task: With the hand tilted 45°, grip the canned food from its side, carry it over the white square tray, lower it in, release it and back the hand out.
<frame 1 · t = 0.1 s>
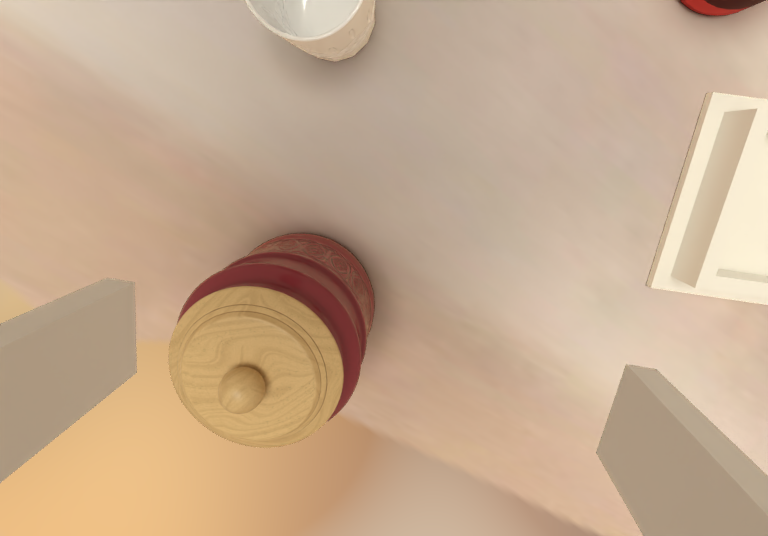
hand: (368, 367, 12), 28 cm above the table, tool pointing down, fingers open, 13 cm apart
white cup: (333, 16, 35), on the table
canister: (308, 297, 41), on the table
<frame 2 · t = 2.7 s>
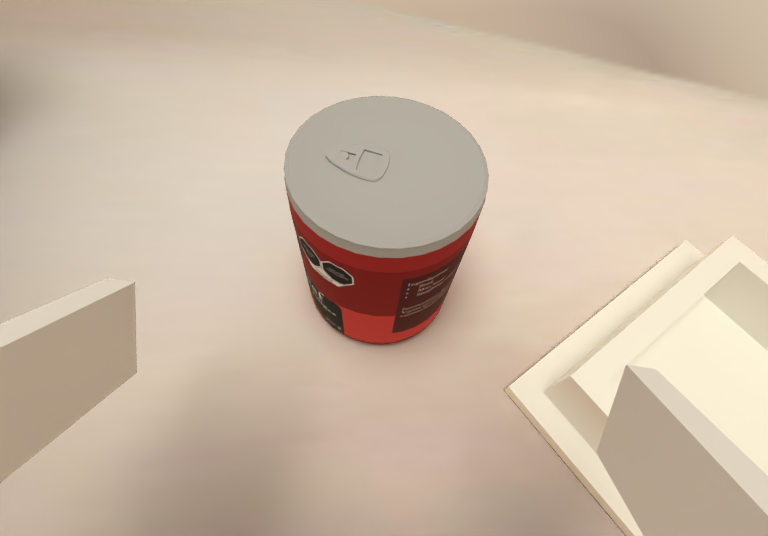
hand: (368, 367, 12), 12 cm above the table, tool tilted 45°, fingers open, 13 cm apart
canned food: (377, 288, 27), on the table
white square tray: (713, 424, 23), on the table
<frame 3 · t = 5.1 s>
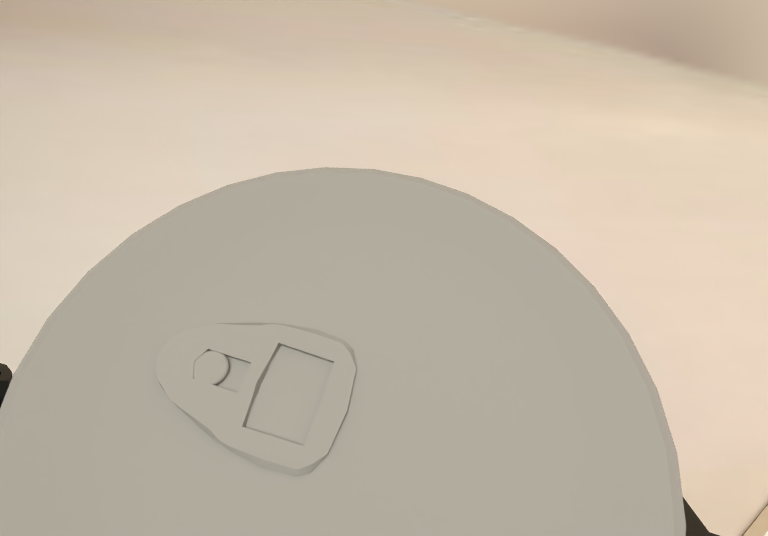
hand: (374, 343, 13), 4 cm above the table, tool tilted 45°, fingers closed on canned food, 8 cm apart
canned food: (354, 473, 15), on the table, touching gripper
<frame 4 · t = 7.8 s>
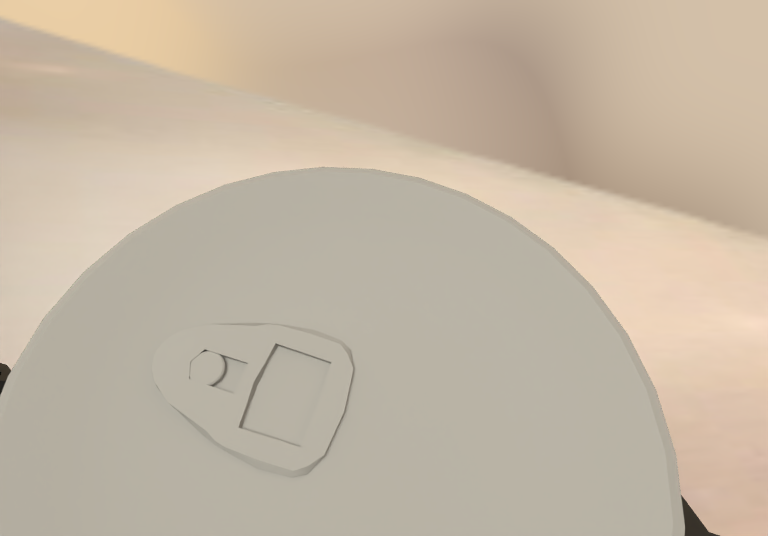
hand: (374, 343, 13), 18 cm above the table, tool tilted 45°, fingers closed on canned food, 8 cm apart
canned food: (353, 474, 15), point 14 cm above the table, touching gripper
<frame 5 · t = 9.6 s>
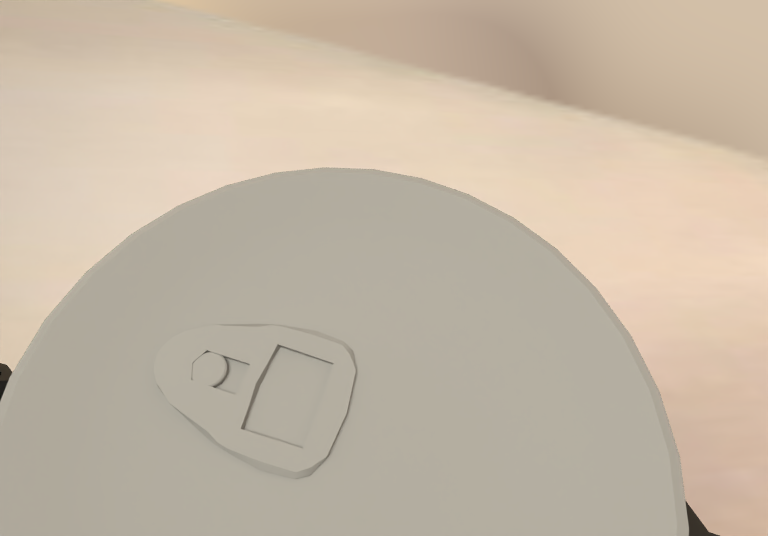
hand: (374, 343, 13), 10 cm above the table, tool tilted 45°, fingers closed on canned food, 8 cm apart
canned food: (354, 474, 15), point 6 cm above the table, touching gripper
when the fingers open (7 cm above the table, at t = 10.7 s): canned food drops 3 cm, resting on white square tray.
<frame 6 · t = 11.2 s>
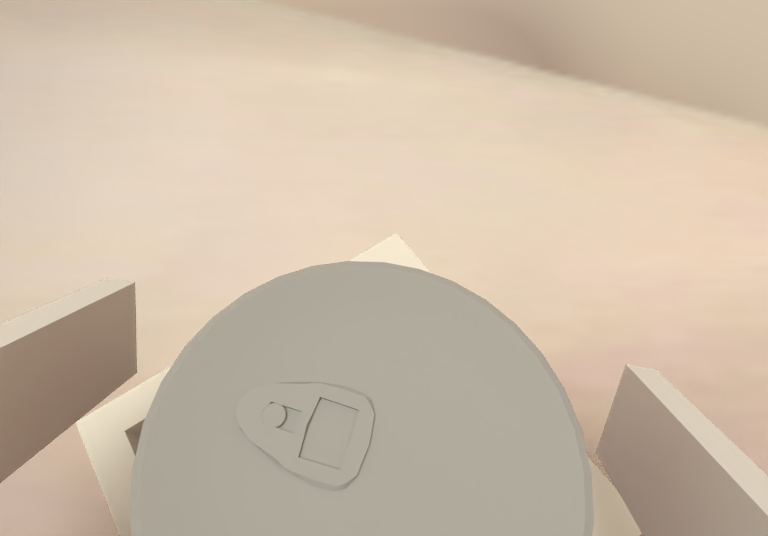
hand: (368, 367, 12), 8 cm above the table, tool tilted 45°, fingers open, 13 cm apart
canned food: (362, 483, 17), point 1 cm above the table, touching white square tray
white square tray: (355, 479, 18), on the table
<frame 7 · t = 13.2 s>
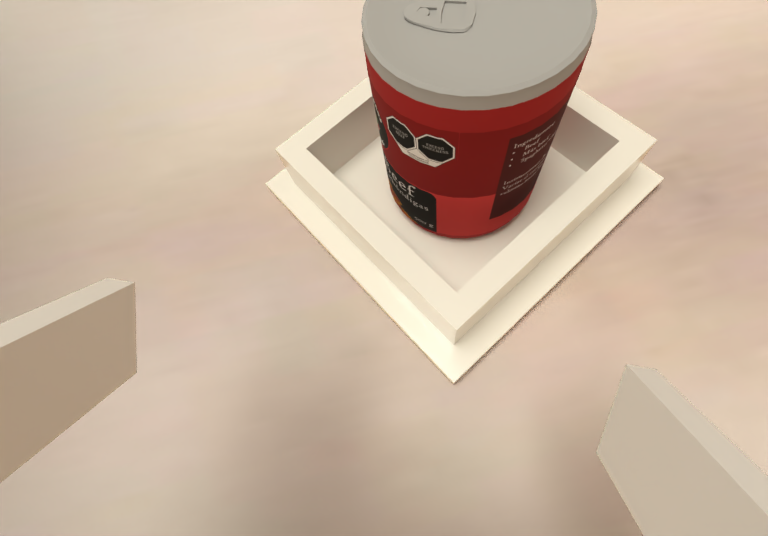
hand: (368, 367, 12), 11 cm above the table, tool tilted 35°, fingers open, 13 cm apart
canned food: (459, 184, 25), point 1 cm above the table, touching white square tray
white square tray: (453, 188, 26), on the table
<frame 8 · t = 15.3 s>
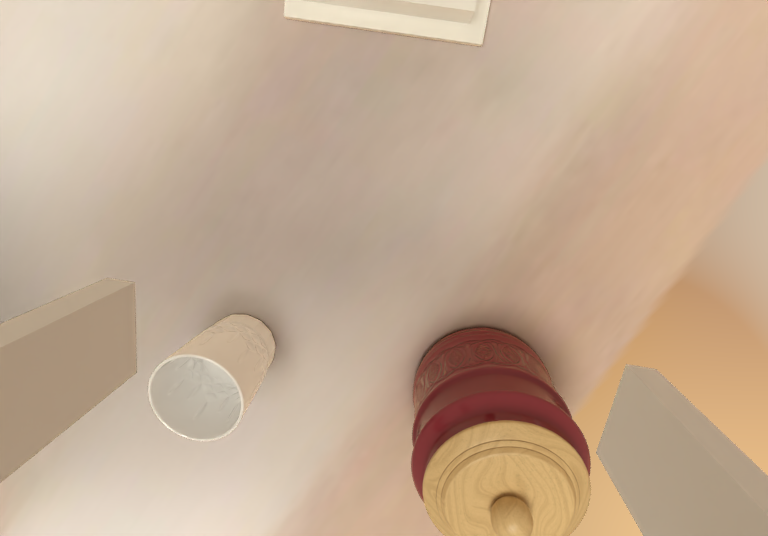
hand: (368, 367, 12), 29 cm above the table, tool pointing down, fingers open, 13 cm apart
white cup: (244, 343, 44), on the table
canister: (478, 382, 44), on the table
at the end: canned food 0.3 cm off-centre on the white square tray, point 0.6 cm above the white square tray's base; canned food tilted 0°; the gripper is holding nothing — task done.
